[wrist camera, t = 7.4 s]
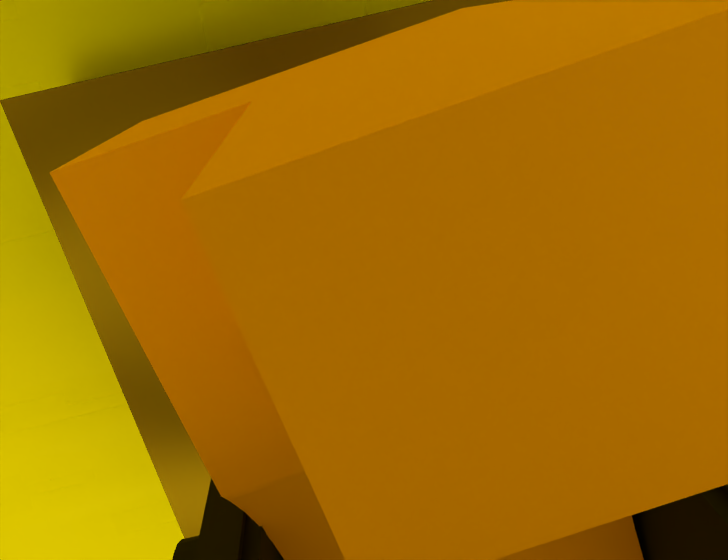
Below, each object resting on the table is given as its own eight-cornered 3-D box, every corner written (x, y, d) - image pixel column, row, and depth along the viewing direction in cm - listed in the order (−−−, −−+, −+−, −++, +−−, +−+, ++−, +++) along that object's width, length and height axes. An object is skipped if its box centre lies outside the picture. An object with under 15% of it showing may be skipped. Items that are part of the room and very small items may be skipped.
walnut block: (70, 84, 16) (-1, 100, 12) (570, -32, 16) (652, -51, 12) (221, 486, 21) (204, 585, 17) (604, 396, 21) (670, 474, 17)
